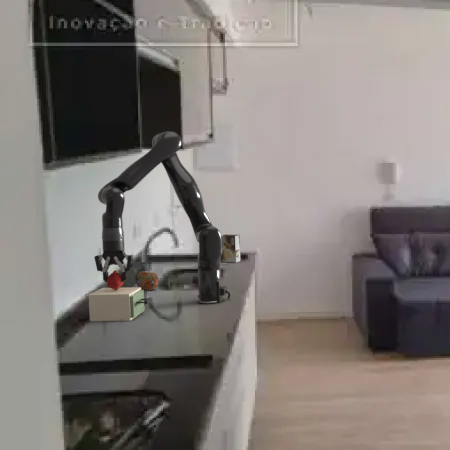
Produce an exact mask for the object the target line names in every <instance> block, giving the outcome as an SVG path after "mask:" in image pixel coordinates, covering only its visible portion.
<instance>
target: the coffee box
mask: <svg viewBox="0 0 450 450" xmlns="http://www.w3.org/2000/svg"><path fill="white" fill-rule="evenodd" d="M240 237H241V235H240V234H226V233H225V234H221V243H222V252H221V260H222V261H221V263H239V262H241V239H240Z"/></svg>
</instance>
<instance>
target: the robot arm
mask: <svg viewBox="0 0 450 450" xmlns="http://www.w3.org/2000/svg"><path fill="white" fill-rule="evenodd" d="M182 144H183V142H182V138H181V136H180V135H179V134H178V133H176V131H169V130H168V131H163V132H160V133H156V134H155V135H154V136H153V138H152V139H151V145H152V148H151V149H150V150H149V151H148V152H146V153H145V154H143V156H141V157H140V158H138V159H137V160H135V161H133V162H132V163H131V164H130V165H129V166H127V167H126V168H125V170H123V171H122V172H121V173H120V174H119V175H118V176H117V177H115V178H114V179H112V180H111V181H109V182H108V183H106V184H105V185H104V186H103V187H101V188H100V189H99V191H98V193H97V199H98V201H99V202H100V203H101V204H102V205H105V211H104V212H103V213H102V216H101V225H102V228H101V229H102V230H101V240H102V254H97V255H95V256H94V262H95V267H96V271H97V272H101V273H102V279H103V281H104V282H105V283H107V278H108V276H109V275H110V274H109V269H110V267H111V266H113V265H114V266H117V267H118V268H119V269H120V271H121V276H122V282H124V283H125V282H126V281H127V280H128V272H129V271H132V269H133V263H134V255H133V254H126V252H125V231H124V228H123V227H124V223H123V214H124V209H125V203H126V202H125V201H126V198H125V197H126V196H125V193H126V192H129V191H132V190H133V189H134V188H136V186H138V185H139V184H140V183H141V182H142V181H143V180H144V179H145V178H146V177H147V176H148V175H149V174H150V173H151V172H152V171H154V169H155V168H157V167H158V166H159V165H160V164H162V167H163V168H164V170H165V172H166V175H167V177H168V179H169V181H170V183H171V186H172V188H173V190H174V192H175V194H176V197H177V199H178V201H179V203H180V205H181V207H182V209H183V210H184V212H185V214H186V215H187V217H188V219H189V222H190V224H191V227H192V230H193V234H194V237H195V239H196V241H197V243H198V247H199V248H198V256H197V274H198V275H197V276H198V295H197V298H198V303H200V304H205V305H206V304H208V305H209V304H210V305H211V304H219V303H221V302H222V301H223V299H224V296H226V295H227V298H226V299H228V300H230V298H231V292H229V290H228V286H227V285H223V278H222V268H221V259H222V239H221V236H222V233H221V231H220V230H219V228H218V227H215V226H214V225H213V224H212V222H211V220H210V218H209V216H208V214H207V212H206V208H205V204H204V200H203V199H204V198H203V196H202V195H203V194H202V192H201V190H200V188H199V186H198V184H197V182H196V179H195V178H194V177H193V175H192V174H191V173H190V172H189V171H188V170H187V168H186V167H185V166H184V164H182V162H181V160H180V158H179V156H178V152H179V151H180V149H181V148H182ZM125 259H126V260H125ZM103 260H104V261H105V262H104V264H103V262H102V261H103ZM124 260H125V261H126V263H125V261H124Z"/></svg>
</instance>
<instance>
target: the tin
mask: <svg viewBox="0 0 450 450" xmlns="http://www.w3.org/2000/svg"><path fill="white" fill-rule="evenodd" d="M135 284H136V287H141V290H144V291H145V290H146V291H153V290H154V291H155V290H156V289H157V288H158V287H159V276H158V274H157V273H156V272H154V271H146V270H140V271H138V272H137V273H136V275H135Z"/></svg>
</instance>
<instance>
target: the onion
mask: <svg viewBox="0 0 450 450" xmlns="http://www.w3.org/2000/svg"><path fill="white" fill-rule="evenodd" d="M124 283H125V282H122V274H120V273H119V272H118V270H117V269H115V270H113V271H112V273H110V274H109V276H108V278H107V282H106V284H107V286H108V288H111V289H113V290H118V289H119V288H122V286H123V285H124Z"/></svg>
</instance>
